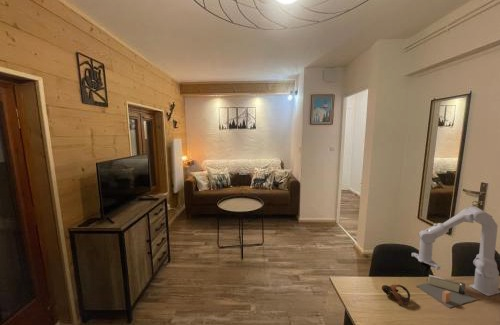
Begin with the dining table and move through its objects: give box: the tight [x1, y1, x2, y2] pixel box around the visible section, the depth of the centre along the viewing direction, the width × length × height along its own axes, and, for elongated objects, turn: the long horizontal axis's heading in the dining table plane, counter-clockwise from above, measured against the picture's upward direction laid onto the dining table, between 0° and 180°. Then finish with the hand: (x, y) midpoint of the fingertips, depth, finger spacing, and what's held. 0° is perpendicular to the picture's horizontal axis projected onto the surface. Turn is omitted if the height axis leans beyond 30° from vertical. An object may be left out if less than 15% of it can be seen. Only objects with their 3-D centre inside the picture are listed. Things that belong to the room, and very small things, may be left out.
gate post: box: [459, 281, 466, 295], centre depth 113 cm, size 2×2×6 cm
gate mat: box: [416, 282, 477, 309], centre depth 114 cm, size 18×16×1 cm
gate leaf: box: [428, 274, 460, 292], centre depth 117 cm, size 12×1×5 cm, turn 54°
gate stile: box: [442, 290, 451, 303], centre depth 108 cm, size 3×2×5 cm, turn 104°
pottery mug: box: [381, 284, 411, 306], centre depth 112 cm, size 12×10×8 cm
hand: (424, 274), depth 126 cm, fingers closed
